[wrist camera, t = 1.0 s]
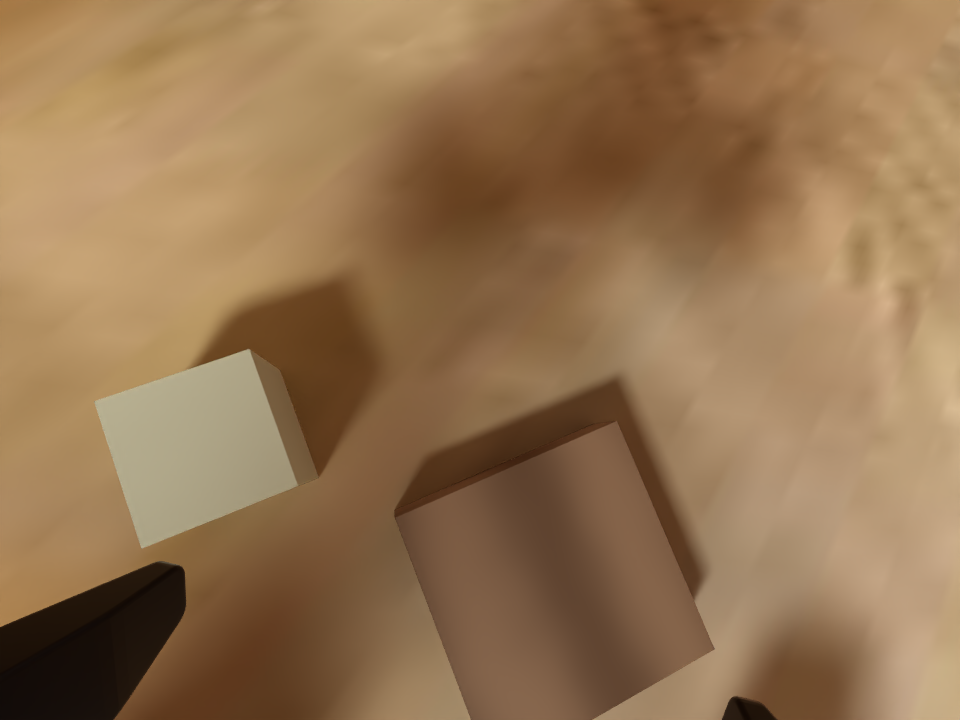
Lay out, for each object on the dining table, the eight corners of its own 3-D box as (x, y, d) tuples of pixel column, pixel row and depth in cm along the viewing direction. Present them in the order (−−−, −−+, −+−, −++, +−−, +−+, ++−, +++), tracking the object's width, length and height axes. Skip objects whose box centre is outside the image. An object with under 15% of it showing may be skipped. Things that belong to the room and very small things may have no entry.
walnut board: (479, 732, 22) (492, 776, 19) (394, 508, 23) (395, 517, 20) (675, 624, 24) (714, 649, 21) (590, 424, 25) (616, 421, 22)
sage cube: (199, 525, 21) (141, 548, 16) (161, 411, 22) (94, 401, 17) (319, 477, 22) (298, 485, 17) (280, 370, 23) (249, 348, 18)
